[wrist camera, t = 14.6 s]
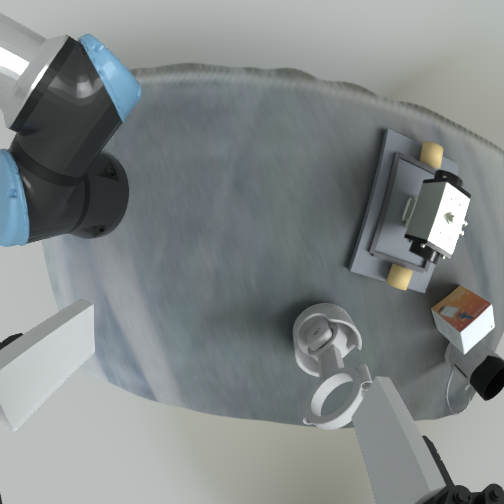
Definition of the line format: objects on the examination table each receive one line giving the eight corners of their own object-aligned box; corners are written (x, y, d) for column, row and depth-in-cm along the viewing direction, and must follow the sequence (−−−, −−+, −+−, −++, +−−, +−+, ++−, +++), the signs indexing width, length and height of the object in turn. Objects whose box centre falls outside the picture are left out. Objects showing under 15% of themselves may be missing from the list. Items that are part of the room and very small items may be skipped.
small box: (459, 284, 39) (492, 302, 29) (465, 306, 40) (495, 327, 30) (429, 308, 41) (459, 332, 30) (436, 329, 41) (464, 355, 31)
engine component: (362, 329, 42) (326, 290, 41) (408, 406, 22) (364, 361, 21) (314, 368, 44) (276, 334, 43) (331, 456, 24) (275, 423, 23)
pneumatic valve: (386, 241, 38) (425, 258, 26) (411, 173, 35) (455, 166, 24) (413, 255, 38) (454, 274, 26) (436, 188, 35) (482, 188, 24)
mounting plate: (420, 290, 40) (435, 300, 35) (347, 268, 41) (357, 278, 35) (454, 166, 36) (471, 164, 30) (384, 130, 36) (398, 122, 31)
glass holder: (478, 342, 41) (515, 375, 26) (434, 388, 44) (463, 429, 29) (467, 321, 40) (509, 354, 26) (420, 370, 43) (452, 415, 28)
